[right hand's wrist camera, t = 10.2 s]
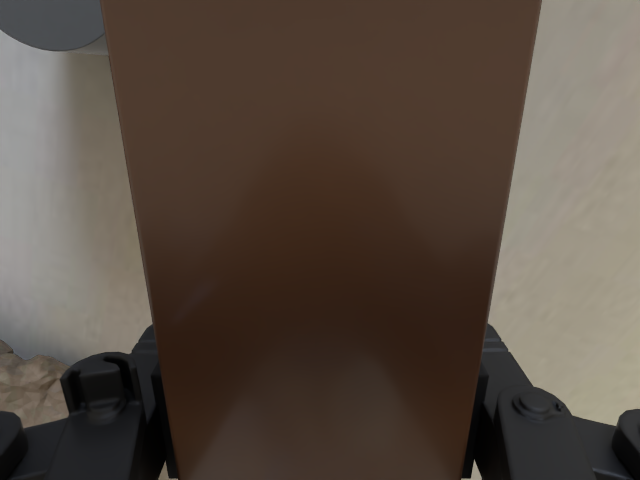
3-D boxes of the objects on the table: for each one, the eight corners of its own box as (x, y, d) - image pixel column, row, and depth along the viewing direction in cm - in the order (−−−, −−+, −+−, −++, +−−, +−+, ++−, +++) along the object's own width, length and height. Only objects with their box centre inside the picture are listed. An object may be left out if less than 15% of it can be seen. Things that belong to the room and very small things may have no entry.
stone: (-165, 436, 32) (-242, 504, 26) (-70, 274, 31) (-129, 310, 25) (108, 509, 40) (93, 573, 34) (192, 382, 39) (192, 428, 33)
